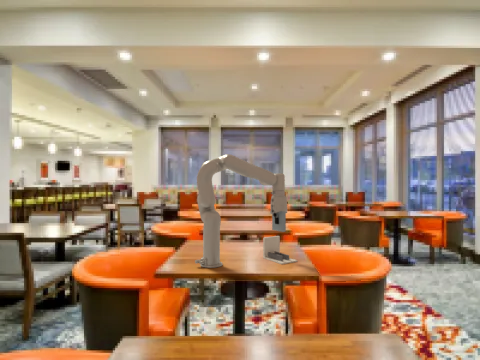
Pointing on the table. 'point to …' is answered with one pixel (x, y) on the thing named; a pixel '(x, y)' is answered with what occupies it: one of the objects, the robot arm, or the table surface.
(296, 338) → the table surface
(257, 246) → the table surface
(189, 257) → the table surface
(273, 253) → the cabinet base
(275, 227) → the door panel
